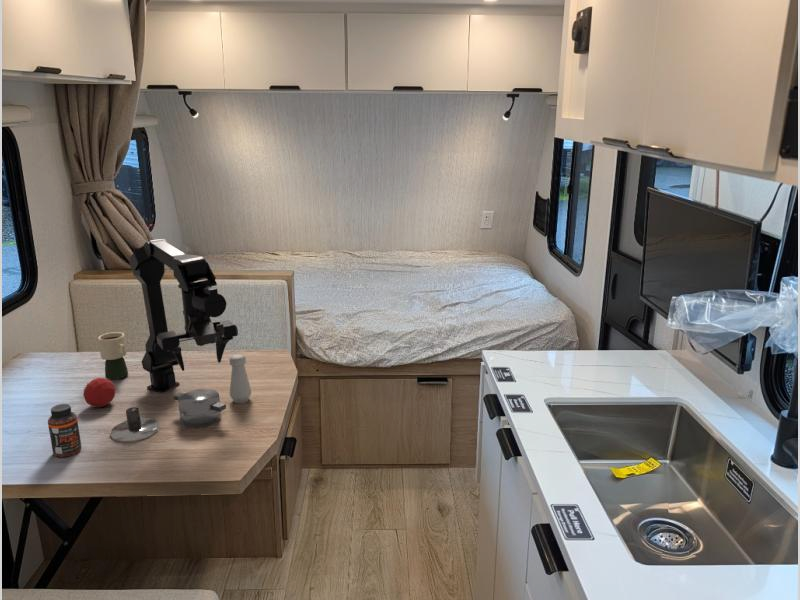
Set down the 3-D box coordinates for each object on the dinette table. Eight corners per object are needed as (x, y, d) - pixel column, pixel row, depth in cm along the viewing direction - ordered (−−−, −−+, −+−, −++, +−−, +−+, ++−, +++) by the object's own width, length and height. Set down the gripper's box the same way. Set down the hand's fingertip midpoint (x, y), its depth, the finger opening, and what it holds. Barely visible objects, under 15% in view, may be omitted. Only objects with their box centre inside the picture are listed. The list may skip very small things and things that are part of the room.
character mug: (139, 376, 185) (133, 335, 182) (118, 385, 180) (112, 342, 176) (116, 369, 191) (110, 329, 187) (95, 377, 185) (88, 336, 181)
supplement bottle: (62, 461, 140) (54, 415, 137) (48, 453, 143) (39, 409, 140) (87, 449, 145) (80, 405, 142) (72, 442, 148) (65, 399, 145)
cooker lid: (101, 437, 151) (97, 414, 149) (137, 418, 161) (134, 396, 159) (132, 447, 146) (129, 424, 145) (168, 427, 156) (166, 405, 154)
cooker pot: (163, 420, 158) (160, 399, 157) (192, 404, 167) (190, 384, 165) (210, 434, 152) (208, 411, 150) (238, 416, 160) (236, 395, 158)
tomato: (108, 379, 163) (91, 367, 166) (86, 403, 160) (70, 391, 163) (126, 392, 169) (109, 381, 173) (105, 416, 166) (89, 404, 170)
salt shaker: (246, 405, 166) (242, 360, 162) (226, 404, 167) (222, 359, 164) (255, 396, 172) (251, 352, 168) (236, 394, 173) (232, 351, 169)
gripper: (165, 323, 142) (172, 386, 147) (243, 309, 152) (248, 368, 157) (153, 311, 151) (160, 370, 155) (228, 298, 161) (232, 354, 165)
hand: (201, 366), depth 158 cm, fingers open, 9 cm apart
